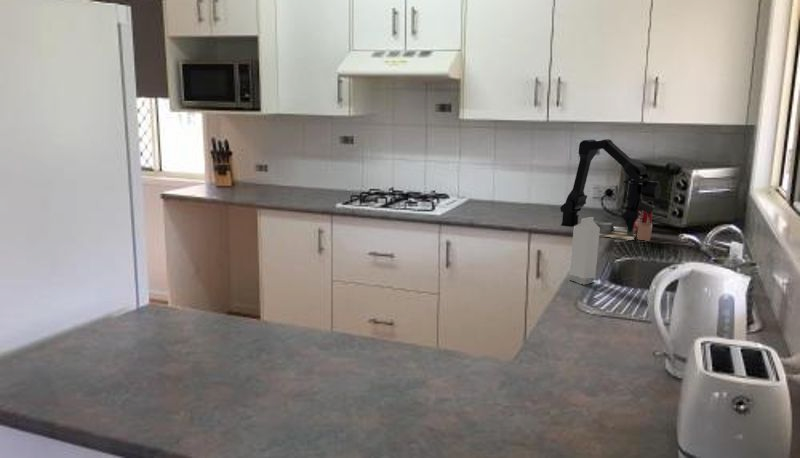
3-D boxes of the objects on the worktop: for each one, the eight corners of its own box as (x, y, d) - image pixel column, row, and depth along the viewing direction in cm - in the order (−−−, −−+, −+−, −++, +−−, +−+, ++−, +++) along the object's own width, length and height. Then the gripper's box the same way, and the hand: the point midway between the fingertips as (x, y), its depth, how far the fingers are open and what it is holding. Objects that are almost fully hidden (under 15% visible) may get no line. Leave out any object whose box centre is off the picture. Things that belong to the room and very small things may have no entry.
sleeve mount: (577, 234, 292) (578, 223, 291) (582, 229, 302) (583, 218, 301) (633, 241, 283) (634, 229, 282) (636, 235, 292) (637, 224, 291)
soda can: (651, 231, 300) (654, 205, 297) (635, 230, 301) (637, 204, 298) (649, 228, 307) (652, 202, 304) (633, 227, 308) (635, 201, 305)
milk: (594, 282, 226) (601, 218, 221) (582, 285, 223) (589, 220, 217) (580, 278, 231) (586, 214, 226) (568, 280, 227) (574, 216, 222)
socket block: (636, 240, 284) (638, 225, 283) (638, 236, 290) (639, 222, 289) (649, 241, 282) (650, 226, 281) (650, 238, 288) (652, 223, 287)
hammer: (599, 231, 292) (600, 219, 290) (600, 230, 295) (601, 217, 293) (643, 236, 284) (644, 223, 283) (644, 235, 287) (645, 222, 286)
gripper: (652, 200, 273) (648, 237, 276) (656, 193, 289) (652, 228, 293) (623, 197, 277) (620, 234, 281) (629, 190, 294) (625, 225, 297)
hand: (630, 230), depth 288 cm, fingers closed on hammer, 3 cm apart
